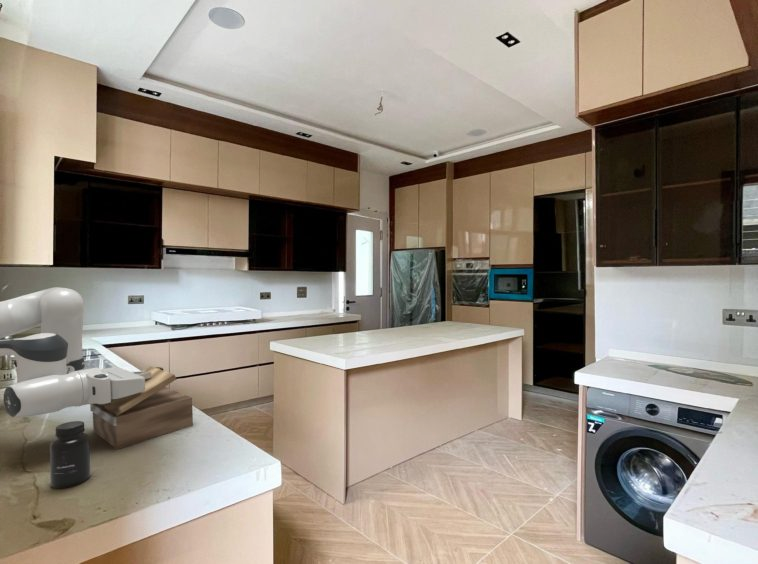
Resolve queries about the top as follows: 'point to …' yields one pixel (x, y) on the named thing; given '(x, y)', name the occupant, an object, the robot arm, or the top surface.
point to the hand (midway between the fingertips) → (149, 374)
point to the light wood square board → (151, 386)
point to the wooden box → (144, 418)
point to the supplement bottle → (70, 455)
